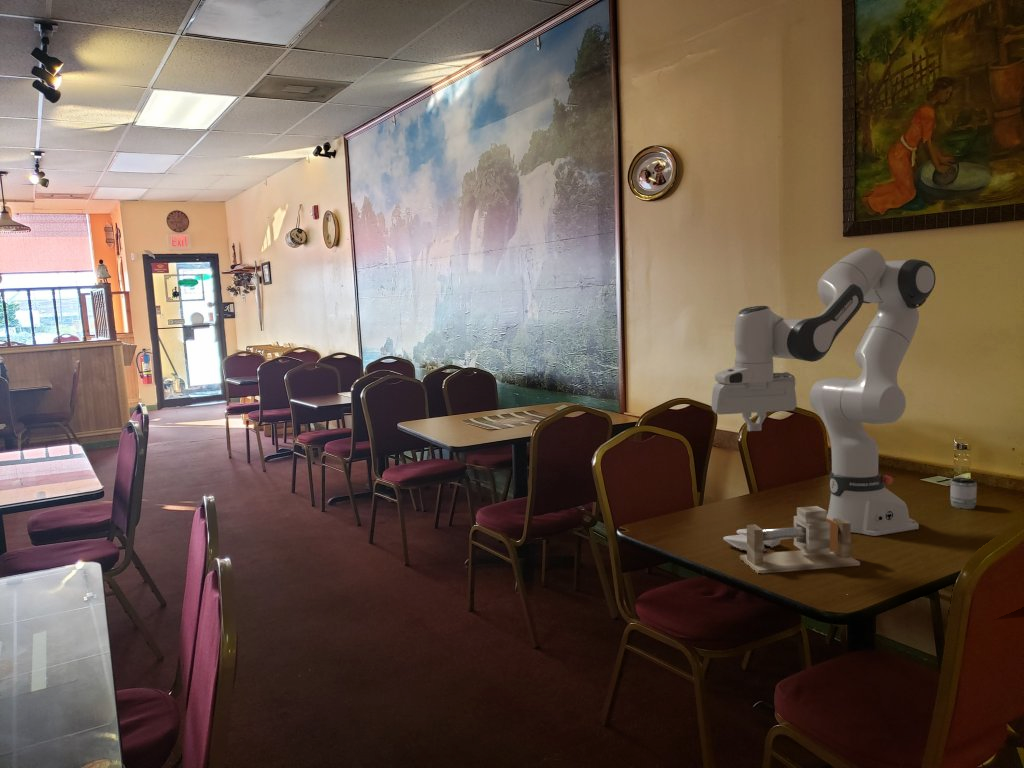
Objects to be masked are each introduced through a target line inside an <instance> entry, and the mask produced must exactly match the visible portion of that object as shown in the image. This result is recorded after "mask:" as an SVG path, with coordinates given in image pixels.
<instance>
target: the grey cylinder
mask: <svg viewBox="0 0 1024 768" xmlns="http://www.w3.org/2000/svg"><path fill="white" fill-rule="evenodd" d="M977 491H978V483H977V482H976V481H975V480H974V479H971V478H968V477H955V478H953V479H951V480H950V492H949V493H950V496H949V497H950V505H951V506H952V507H953V506H954V507H953V508H955V507H956V509H960V508H962V510H972V509H975V508H976V505H977Z"/></svg>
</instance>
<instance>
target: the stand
mask: <svg viewBox="0 0 1024 768" xmlns="http://www.w3.org/2000/svg"><path fill="white" fill-rule="evenodd" d="M833 521H834V522H836V523H838V525H839V527H840V530H841V532H840V534H839V535H838V551H834V552H830V553H828V554H815V555H808V554H807V553H805V552H804V551H802V550H801V549H799V550H788V551H776V552H775V551H774V552H764V551H763V530H764V529H763V528H761V527H760V526H759V525H757V524H746V529H747V551H746V554H740V555H739V559H740V560H741V561H742V560H743V561H744V562H743V561H742V562H743V563H745V564H746V565H747V566H748V565H749V566H750V568H751V569H752V570H753V571H754V570H755V571H754V572H755V573H757V574H758V573H761V574H773V573H785V572H794V571H795V572H797V571H806V570H808V571H809V570H819V569H831V568H832V569H833V568H845V567H855V566H857V567H858V566H861V562H860V560H857V559H856V558H854V557H853V556H851V547H852V545H851V541H852V540H851V537H852V536H851V533H852V532H851V523H850V522H848V521H846V520H844V519H842V518H835V519H833ZM749 566H748V567H749Z"/></svg>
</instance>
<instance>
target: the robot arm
mask: <svg viewBox="0 0 1024 768" xmlns="http://www.w3.org/2000/svg"><path fill="white" fill-rule="evenodd" d="M935 273H936V272H935V270H934V268H933V267H932V265H931V263H929V262H927V261H925V260H922V259H915V258H912V259H908V260H907V259H900V260H897V259H895V260H894V259H893V260H885V258H884V256H883V255H882V254H881V253H880V251H878V250H876V249H874V248H870V247H861V248H859V249H856V250H854V251H852V252H850V253H849V254H846V255H845V256H844V257H842V258H841V259H839V260H838V261H837V262H835V263H834V264H833V265H832V266H831V267H829V268H828V269H827V270H826V271H825V272H824V273H822V275H821V276H820V278H819V279H818V282H817V286H816V287H817V294H818V297H819V300H821V303H822V304H823V305H824V306H826V307H825V309H823V311H822V312H820V314H819V315H817V316H814V317H808V318H784V317H782V316H780V315H777V314H776V313H774V312H773V311H772V310H771V307H770V306H767V305H755V306H748V307H745V308H742V309H741V310H739V311H738V313H737V315H736V317H735V321H734V322H735V323H734V347H735V351H736V352H735V353H736V354H735V359H734V366H732V367H730V368H728V369H727V368H726V369H724V370H722V371H719V372H717V373H716V374H715V375H714V380H715V382H716V383H715V384H714V386H713V388H712V392H711V410H712V411H713V412H714V414H717V415H733V414H737V415H738V414H742V415H741V416H742V418H743V419H744V421H745V423H746V430H747V432H758V431H760V432H761V431H762V430H763V429H762V425H763V422H764V421H765V419H766V418H767V413H768V412H769V413H770V412H787V411H794V410H796V409H795V408H797V405H798V404H797V394H796V377H795V376H794V375H793V374H792V373H790V372H787V371H786V372H774V358H777V359H781V358H782V359H791V360H800V361H805V362H810V363H811V362H813V363H815V362H818V361H820V360H822V359H823V358H824V357H825V356H826V355H827V354H828V352H829V351H830V350H831V347H832V346H833V344H834V342H835V340H836V338H837V337H838V336H839V334H840V333H841V332H842V331H843V330H844V329H845V328H846V326H848V324H849V323H850V321H852V319H853V318H854V317H855V316H856V315H857V313H858V312H859V311H860V310H861V308H862V305H863V304H878V305H877V311H876V312H877V313H876V314H875V315H874V317H873V319H872V320H871V321H870V322H869V323H870V324H869V325H868V327H867V329H866V330H865V332H864V334H863V336H862V338H861V340H860V342H859V343H858V345H857V348H856V349H855V352H854V359H855V362H856V364H857V365H858V367H860V368H861V372H860V375H859V376H858V377H857V378H846V377H830V378H824V379H820V380H817V381H816V382H815V383H814V384H813V385H812V387H811V388H810V392H809V403H810V406H811V408H812V409H813V411H814V412H815V413H816V414H817V415H818V416H819V417H820V419H821V420H822V422H823V423H824V426H825V428H826V430H827V433H828V436H829V441H830V448H831V450H830V451H831V471H829V489H830V490H829V492H830V497H829V499H830V500H829V505H828V509H827V518H828V519H830V520H832V521H833V519H835V518H842V519H844V520H846V521H848V522H850V523H851V533H855V534H856V533H857V534H863V535H867V536H872V537H873V536H874V537H876V536H877V537H878V536H882V535H888V534H895V533H901V532H902V533H903V532H908V531H915V530H919V528H920V527H919V522H917V521H916V520H914V519H912V518H910V515H909V509H908V506H907V503H906V502H905V501H904V500H902V499H901V498H900V497H899V496H897V495H896V494H895V493H893V492H891V491H890V489H888V488H886V486H885V484H887V485H892V483H893V482H894V478H893V477H892V476H889V475H887V474H885V475H883V474H881V473H879V446H878V443H877V442H876V440H874V438H873V437H872V436H870V435H869V433H867V431H866V429H865V427H864V424H863V423H865V424H870V425H884V424H893V423H895V422H897V421H898V420H899V419H901V417H902V416H903V414H904V413H905V410H906V407H907V400H906V396H905V394H904V391H903V390H902V389H901V387H900V386H899V385H898V373H899V372H898V371H899V369H900V366H901V364H902V362H903V360H904V358H905V355H906V353H907V351H908V349H909V348H910V346H911V343H912V341H913V338H914V335H915V334H916V331H917V327H918V324H919V320H920V319H919V318H920V311H919V310H918V308H919V307H921V306H922V305H924V303H925V302H926V301H927V299H928V298H929V297H930V295H931V294H932V292H933V291H934V288H935V285H936V274H935ZM752 413H753V414H754V413H756V415H757V416H758V417H757V419H756V421H755V422H753V421H752V420H751V418H752Z"/></svg>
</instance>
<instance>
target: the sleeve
mask: <svg viewBox="0 0 1024 768" xmlns="http://www.w3.org/2000/svg"><path fill="white" fill-rule="evenodd" d="M827 514H828V510H826V509H824V508H822V507H820V506H818V505H814V506H803V507H802V506H800V507H796V515H793V527H804V528H806V538H793V546H795V547H796V548H798V549H799V550H802V551H804V552H805V553H807V554H808V555H815V554H828V553H830V523H828V522H827Z"/></svg>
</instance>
